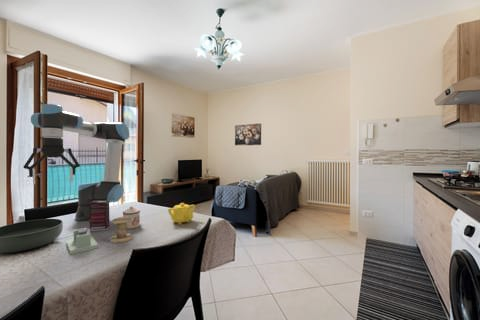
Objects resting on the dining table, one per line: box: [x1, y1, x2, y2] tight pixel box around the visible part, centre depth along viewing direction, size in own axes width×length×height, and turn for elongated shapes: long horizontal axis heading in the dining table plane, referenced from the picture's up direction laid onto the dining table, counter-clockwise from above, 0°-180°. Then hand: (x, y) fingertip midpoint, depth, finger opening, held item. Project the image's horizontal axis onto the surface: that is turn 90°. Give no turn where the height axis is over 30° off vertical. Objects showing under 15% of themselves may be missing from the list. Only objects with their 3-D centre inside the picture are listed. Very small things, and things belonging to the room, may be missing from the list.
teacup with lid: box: [122, 205, 141, 230], centre depth 132 cm, size 12×9×12 cm
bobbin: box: [109, 216, 134, 244], centre depth 112 cm, size 10×10×10 cm
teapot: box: [167, 202, 196, 226], centre depth 139 cm, size 14×14×12 cm
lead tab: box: [77, 227, 88, 235], centre depth 102 cm, size 6×3×6 cm, turn 43°
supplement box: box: [89, 201, 111, 232], centre depth 125 cm, size 9×5×16 cm, turn 98°
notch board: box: [66, 227, 99, 255], centre depth 103 cm, size 14×10×6 cm
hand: (53, 182), depth 105 cm, fingers open, 13 cm apart
